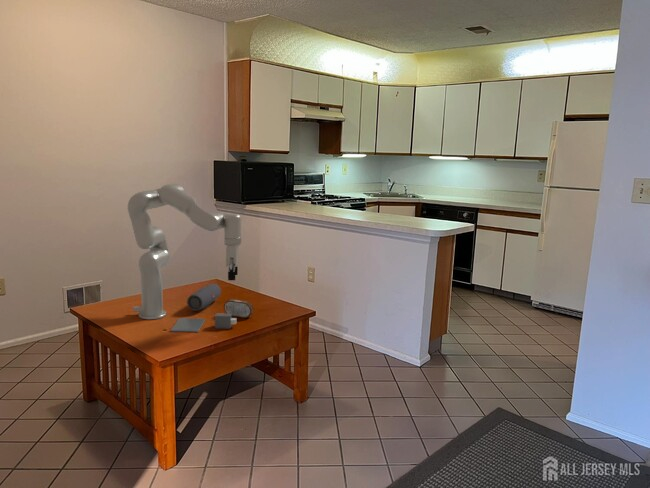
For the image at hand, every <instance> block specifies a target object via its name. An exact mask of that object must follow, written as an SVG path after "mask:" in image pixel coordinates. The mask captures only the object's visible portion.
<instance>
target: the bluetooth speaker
mask: <svg viewBox="0 0 650 488" xmlns="http://www.w3.org/2000/svg"><path fill="white" fill-rule="evenodd" d="M221 294H222V289H221V287H220V286H219V284H217V283H210V284H207V285H206V286H203V287H201V288H200V289H198V290H196V291H195V292H193V293H192V294H191V295H189V297H188V298H187V300H186V303H187V307H188V308H189V309H190V310H191V311H200V310H205V309H206V308H208V307H209V306H210V305H212V304H213V302H215V301H216V300H217V299H218V298H219V297H220V296H221Z"/></svg>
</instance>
